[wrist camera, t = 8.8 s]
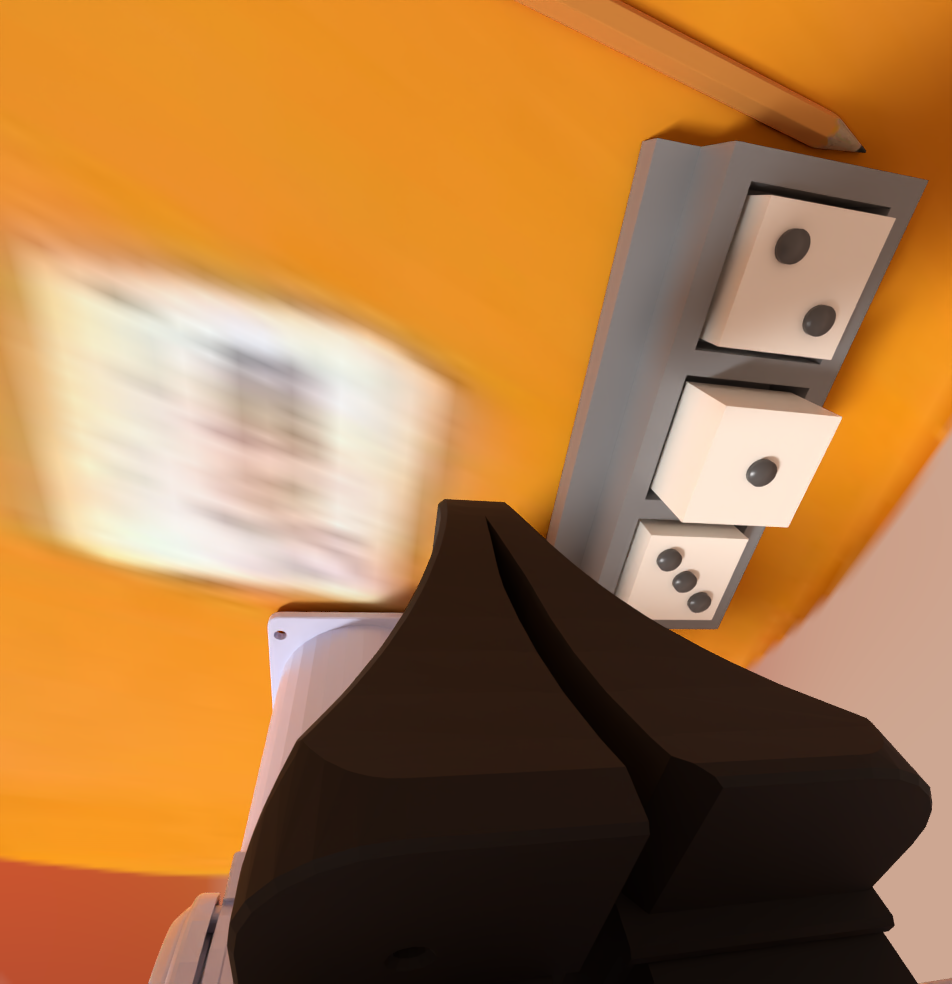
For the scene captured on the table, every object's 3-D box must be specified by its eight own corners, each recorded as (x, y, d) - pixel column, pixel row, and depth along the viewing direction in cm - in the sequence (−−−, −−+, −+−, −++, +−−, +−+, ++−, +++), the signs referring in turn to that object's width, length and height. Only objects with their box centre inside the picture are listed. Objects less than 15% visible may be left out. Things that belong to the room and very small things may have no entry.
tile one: (746, 493, 20) (791, 530, 18) (650, 487, 19) (685, 525, 17) (790, 392, 18) (847, 419, 16) (685, 381, 17) (730, 408, 15)
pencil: (235, -123, 12) (848, 175, 17) (227, -178, 11) (880, 155, 16) (244, -159, 12) (851, 148, 17) (237, -218, 11) (884, 127, 16)
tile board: (711, 588, 25) (745, 629, 23) (535, 584, 24) (551, 628, 21) (888, 190, 18) (967, 188, 15) (642, 141, 16) (688, 130, 13)
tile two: (781, 342, 19) (835, 361, 16) (679, 329, 18) (721, 348, 16) (833, 216, 17) (902, 218, 14) (721, 196, 16) (776, 194, 14)
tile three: (683, 583, 24) (714, 623, 21) (600, 581, 23) (623, 622, 21) (714, 506, 22) (751, 542, 19) (625, 502, 21) (653, 538, 19)
